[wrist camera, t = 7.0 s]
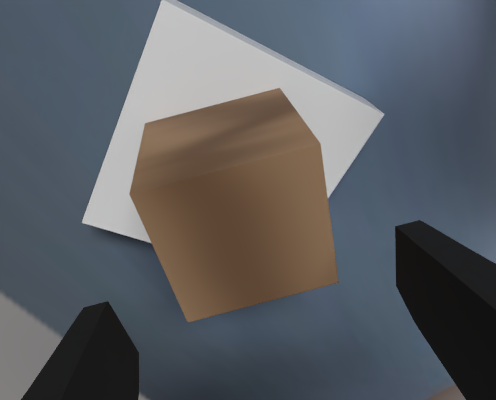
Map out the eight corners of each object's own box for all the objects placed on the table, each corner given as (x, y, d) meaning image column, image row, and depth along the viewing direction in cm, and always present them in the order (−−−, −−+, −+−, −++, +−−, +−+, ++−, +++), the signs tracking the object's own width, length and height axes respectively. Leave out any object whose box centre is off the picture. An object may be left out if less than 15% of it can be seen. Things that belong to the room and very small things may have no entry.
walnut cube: (279, 87, 14) (320, 143, 10) (299, 200, 17) (338, 282, 13) (144, 123, 14) (129, 194, 10) (186, 230, 17) (188, 322, 13)
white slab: (364, 98, 17) (384, 114, 15) (266, 252, 21) (273, 279, 19) (164, -7, 14) (162, -1, 12) (91, 197, 18) (81, 222, 16)
